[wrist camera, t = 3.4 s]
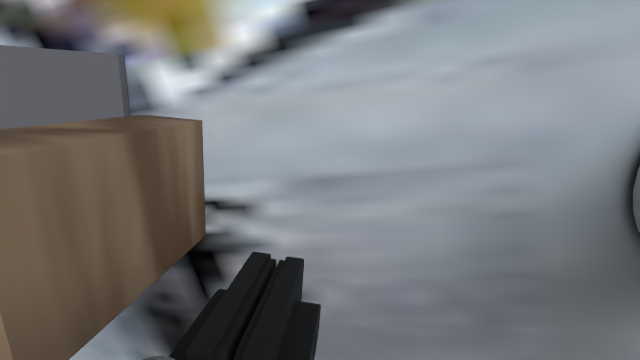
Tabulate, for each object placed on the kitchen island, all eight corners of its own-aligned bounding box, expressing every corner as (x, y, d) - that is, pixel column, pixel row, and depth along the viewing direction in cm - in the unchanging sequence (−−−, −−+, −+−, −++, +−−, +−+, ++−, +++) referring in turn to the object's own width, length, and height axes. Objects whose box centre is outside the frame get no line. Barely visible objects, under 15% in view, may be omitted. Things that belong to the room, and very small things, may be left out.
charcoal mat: (123, 55, 18) (117, 54, 18) (145, 268, 23) (140, 272, 22) (-71, 40, 20) (-81, 39, 20) (-17, 243, 24) (-24, 246, 24)
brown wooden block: (201, 120, 19) (-41, 162, 8) (205, 235, 21) (24, 400, 10) (137, 114, 20) (-182, 144, 8) (147, 227, 22) (-90, 375, 10)
